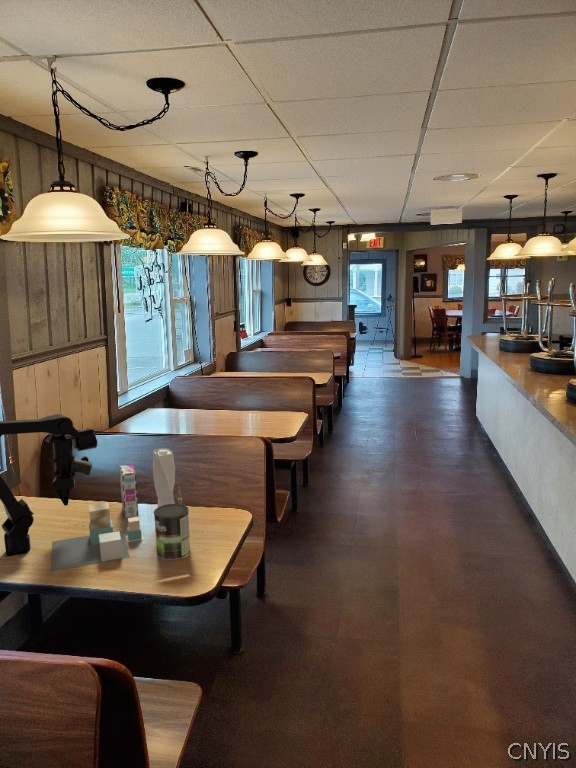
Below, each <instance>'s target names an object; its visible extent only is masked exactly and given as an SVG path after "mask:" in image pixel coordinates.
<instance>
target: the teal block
mask: <svg viewBox="0 0 576 768" xmlns="http://www.w3.org/2000/svg"><path fill="white" fill-rule="evenodd" d="M112 520H113V519H112V518H110V522H111V527H105V528H98V529H92V530H91V524H90V521H88V526H89V527H88V529H89V535H90V541H91V545H97V544H100V542H99V534H106V533H112V532H113V531H114V526H113V521H112Z"/></svg>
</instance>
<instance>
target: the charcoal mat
mask: <svg viewBox="0 0 576 768" xmlns="http://www.w3.org/2000/svg"><path fill="white" fill-rule="evenodd" d="M118 531H119V532H120V537H121V546H122V558H119V559H114V560H108V561H101V554H100V544H97V545H91V541H90V534H89V535H83V536H76V537H70V538H64V539H59V540H54V541H51V558H50V572H57V571H62V570H67V569H74V568H80V567H85V566H89V565H96V564H101V563H102V564H103V563H106V562H112V561H118V560H119V561H120V560H123V559H127V558H128V559H129V558H130V553H129V549H128V544H127V539H126V537H125V536H126V535H125V531H124V529H120V530H113V532H118Z"/></svg>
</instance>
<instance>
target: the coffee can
mask: <svg viewBox="0 0 576 768" xmlns="http://www.w3.org/2000/svg"><path fill="white" fill-rule="evenodd" d="M153 516H154V528H155V529H154V530H155V546H156V547H155V548H156V556H157V557H158V558H160V559H163V560H168V561H169V560H170V561H171V560H177V559H181V558H183V559H185V557H186V558H187V557H189V555H190V554H191V546H190V545H191V544H190V543H191V540H190V519H189V507H188V506H187V505H184V504H183V503H182V504H178V503H175V504H168V505H163V506H160V507H158V506H157V508H155V509H154V511H153Z"/></svg>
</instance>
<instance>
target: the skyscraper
mask: <svg viewBox="0 0 576 768" xmlns="http://www.w3.org/2000/svg"><path fill="white" fill-rule="evenodd" d="M152 476H153V483H154V490H155V493H156V496H157V508H158V507H160V506H163V505H168V504H176V502H175V498H174V494H173V493H174V487H175V482H176V480H175V479H176V465H175V457H174V452H173V451H172V450H171V449H170V448H168V447H167V448H166V447H160V448H156V449H154V450H153V451H152ZM177 494H178V498H177V504H182V505H183V498H182V492H181V487H180V486H178V493H177Z"/></svg>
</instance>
